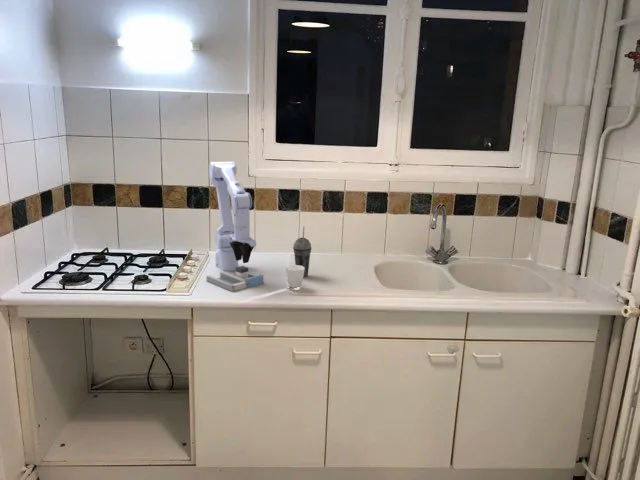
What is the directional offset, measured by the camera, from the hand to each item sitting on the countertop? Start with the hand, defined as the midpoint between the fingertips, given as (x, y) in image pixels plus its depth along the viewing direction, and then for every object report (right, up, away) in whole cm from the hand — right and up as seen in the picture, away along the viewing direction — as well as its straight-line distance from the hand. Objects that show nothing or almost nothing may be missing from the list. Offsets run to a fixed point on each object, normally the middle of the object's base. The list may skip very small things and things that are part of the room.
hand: (242, 261), depth 200 cm
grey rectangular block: (0, -7, +2) cm, 7 cm away
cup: (+20, -10, -1) cm, 22 cm away
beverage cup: (+22, -7, +12) cm, 26 cm away
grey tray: (-3, -9, 0) cm, 9 cm away
